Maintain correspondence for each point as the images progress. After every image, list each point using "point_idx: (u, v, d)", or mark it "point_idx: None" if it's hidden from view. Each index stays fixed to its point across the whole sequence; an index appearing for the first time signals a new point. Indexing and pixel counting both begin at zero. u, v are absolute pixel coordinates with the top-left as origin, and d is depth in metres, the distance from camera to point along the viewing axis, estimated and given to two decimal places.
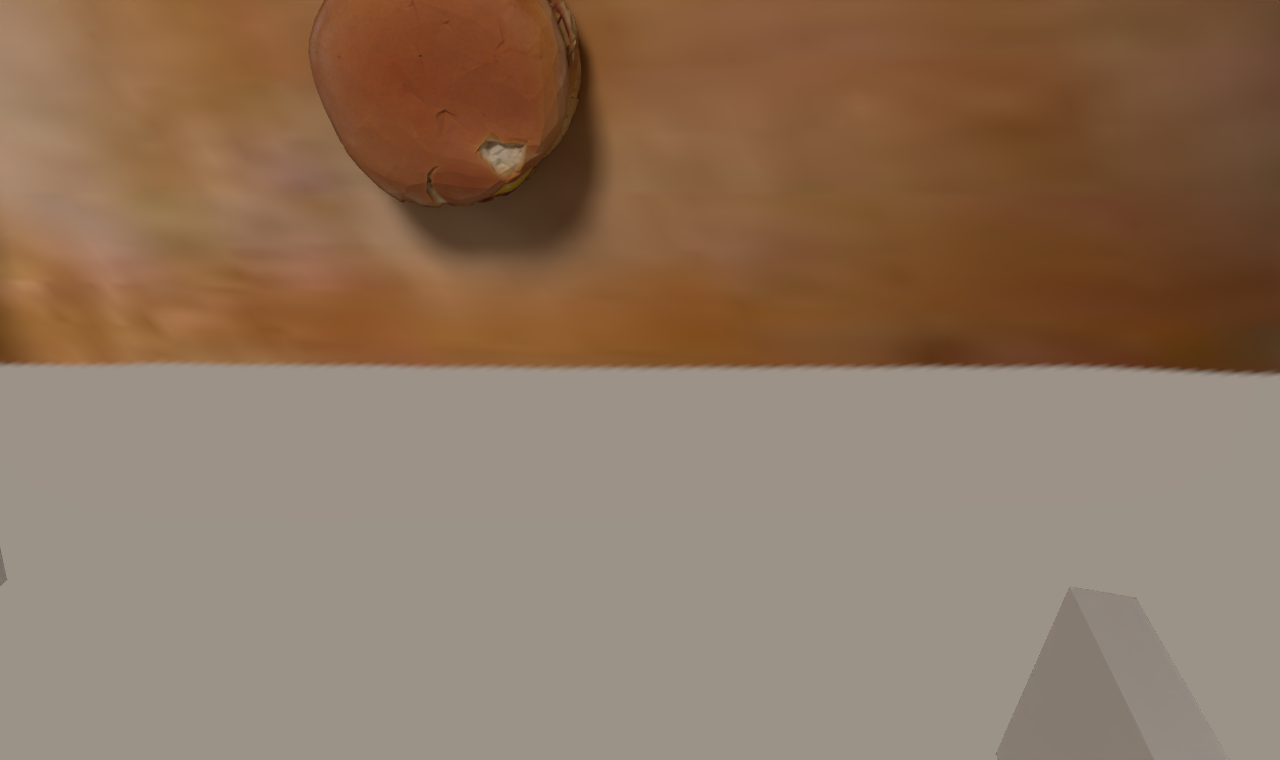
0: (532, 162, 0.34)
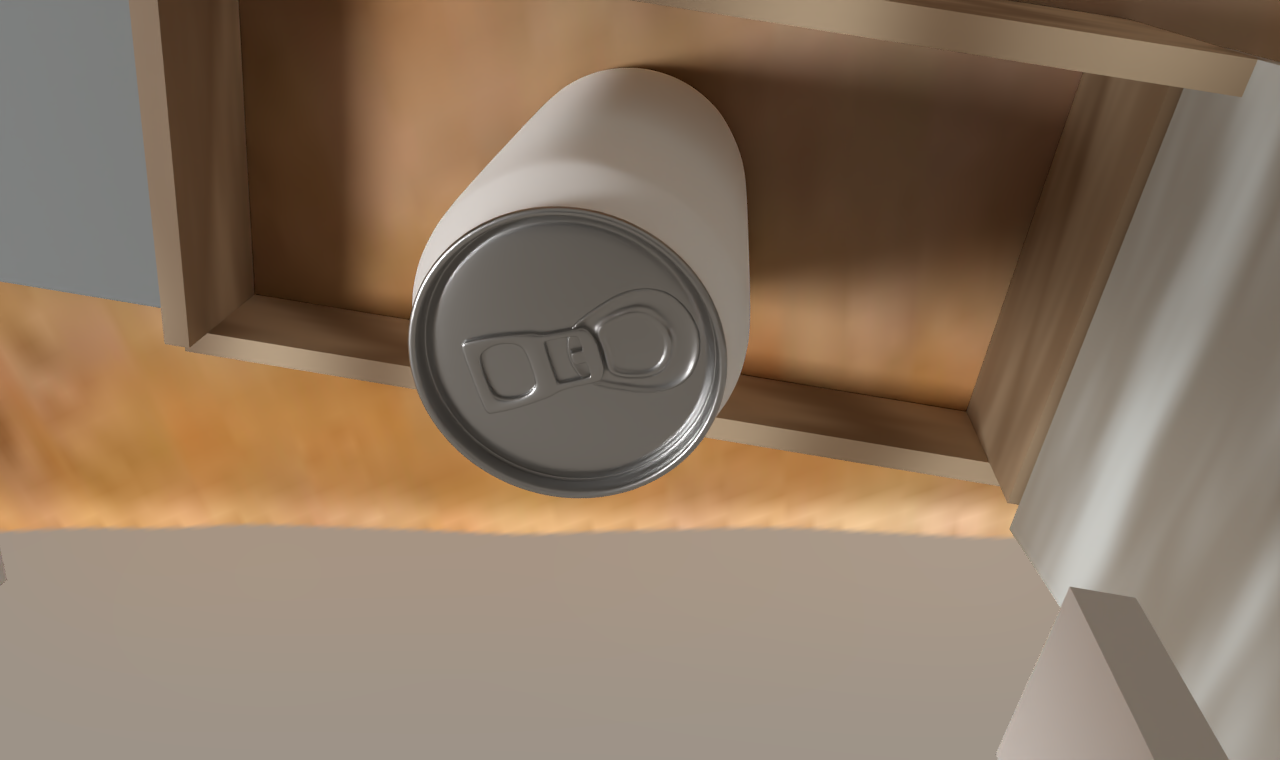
0: None
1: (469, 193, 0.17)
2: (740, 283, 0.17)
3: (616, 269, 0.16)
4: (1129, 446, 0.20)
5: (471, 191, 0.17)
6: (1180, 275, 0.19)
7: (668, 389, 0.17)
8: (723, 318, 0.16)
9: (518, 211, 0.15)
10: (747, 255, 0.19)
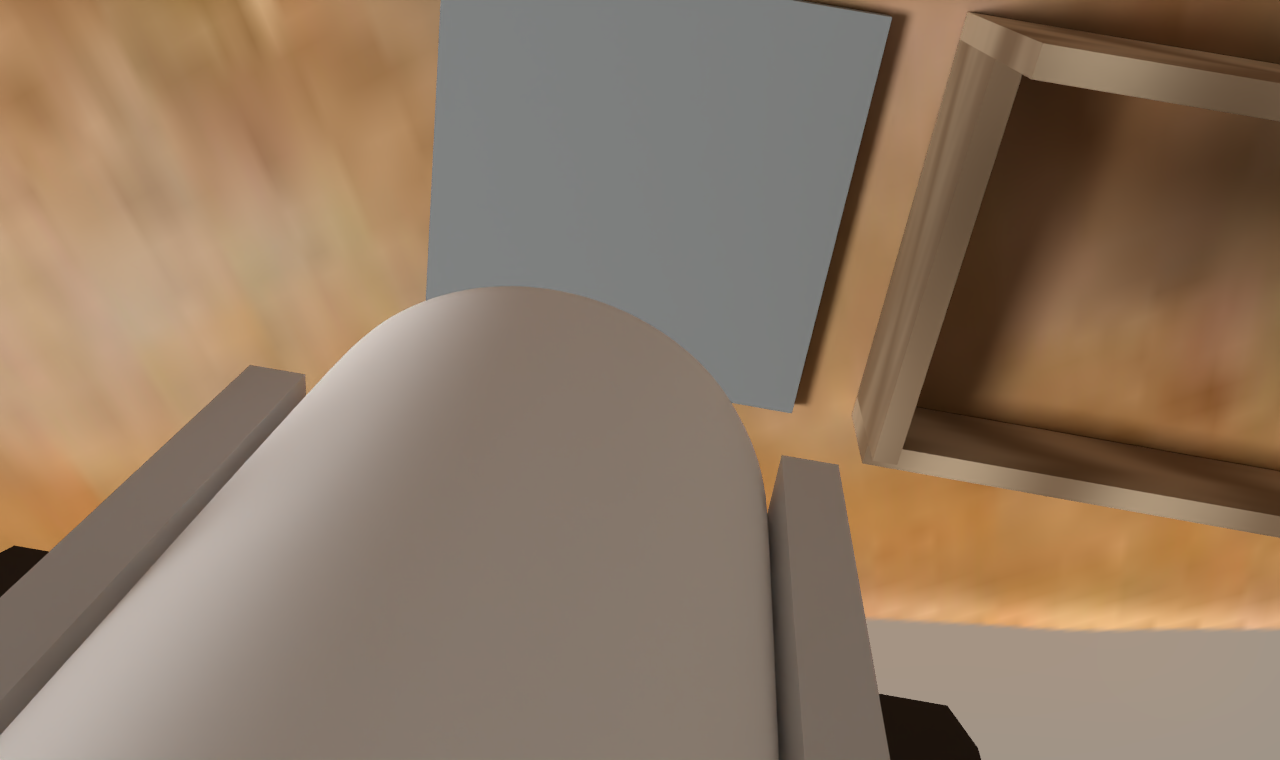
0: None
1: None
2: None
3: None
4: None
5: None
6: None
7: None
8: None
9: None
10: None
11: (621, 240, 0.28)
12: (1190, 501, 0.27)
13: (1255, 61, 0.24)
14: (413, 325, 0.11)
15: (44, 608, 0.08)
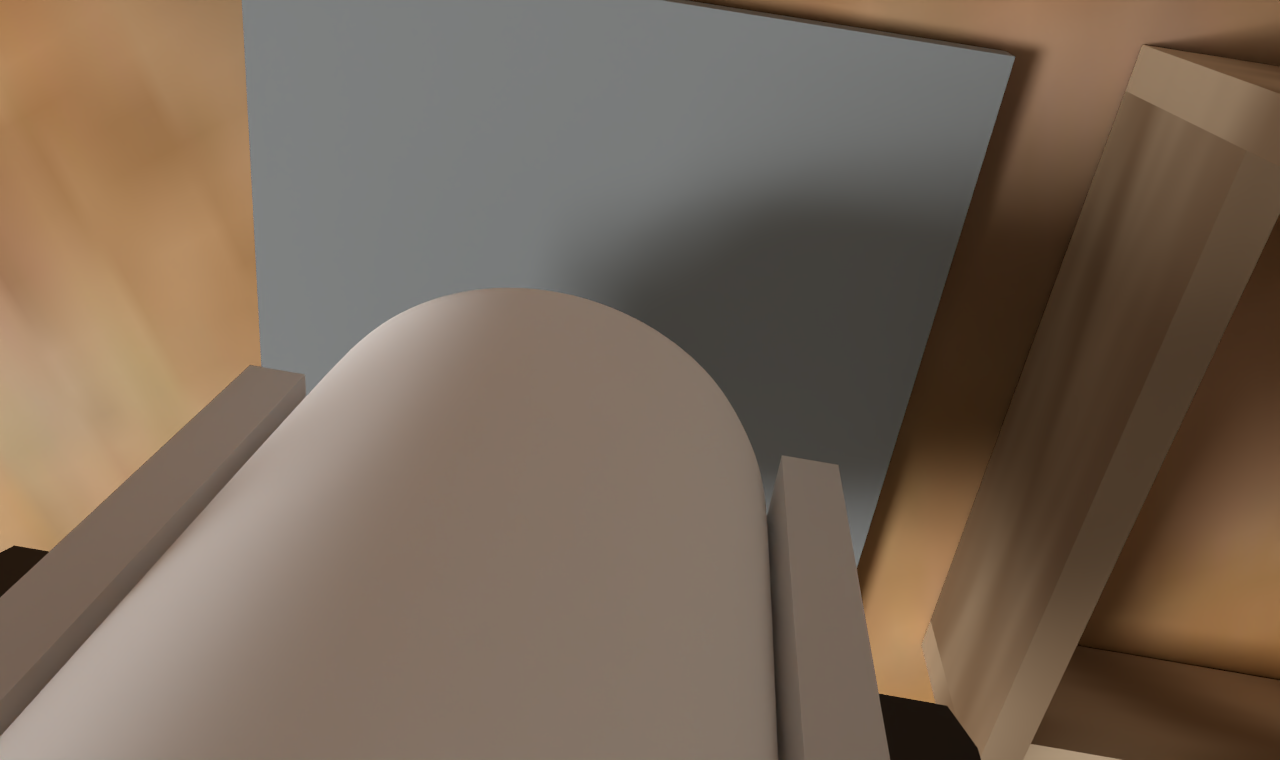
0: None
1: None
2: None
3: None
4: None
5: None
6: None
7: None
8: None
9: None
10: None
11: None
12: None
13: None
14: (412, 327, 0.11)
15: (45, 608, 0.08)
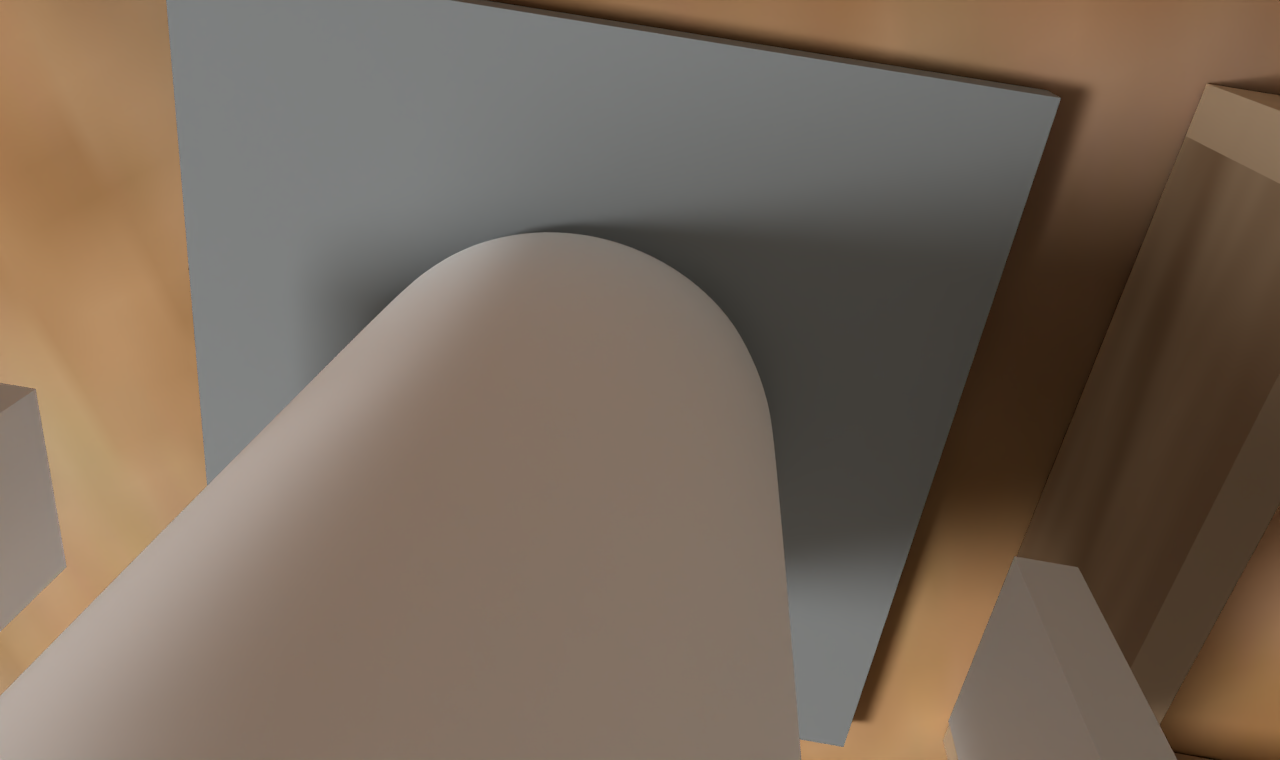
0: None
1: None
2: None
3: None
4: None
5: None
6: None
7: None
8: None
9: None
10: None
11: None
12: None
13: None
14: (470, 259, 0.13)
15: None
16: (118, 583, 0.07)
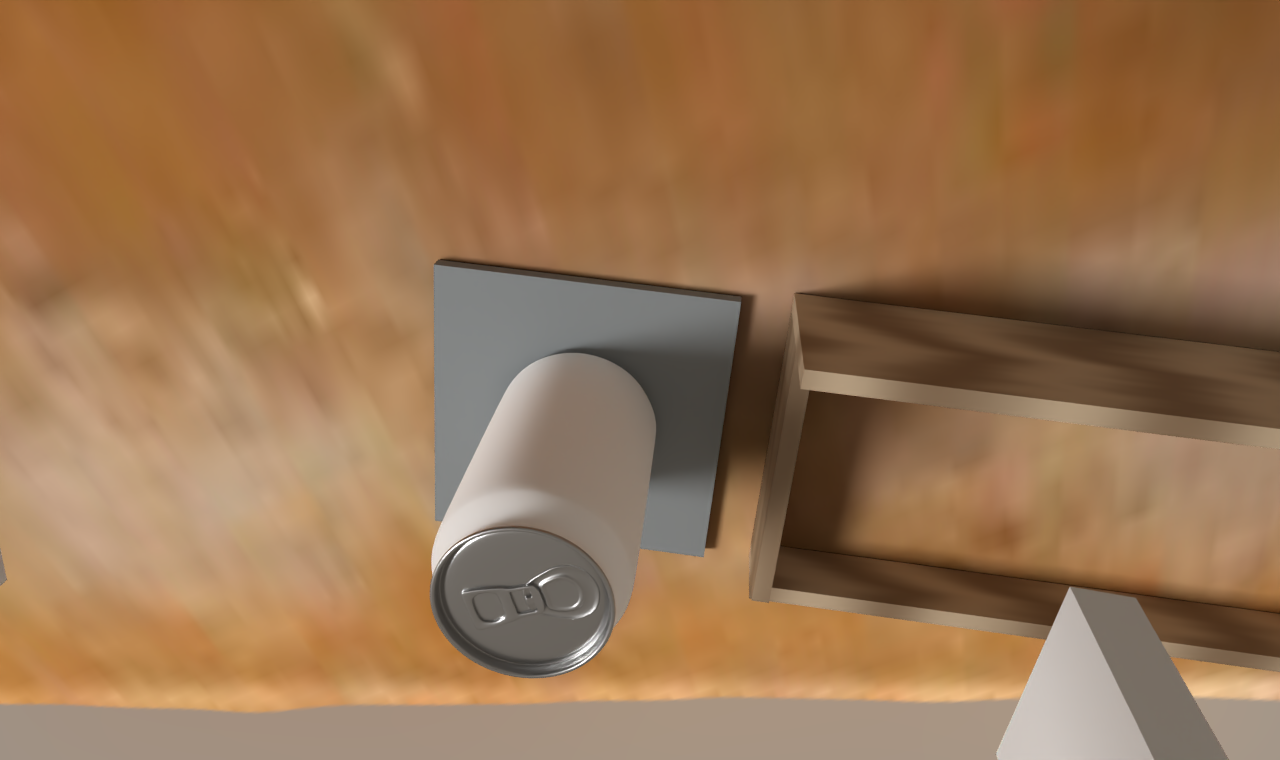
0: None
1: (465, 503, 0.29)
2: (626, 552, 0.29)
3: (549, 555, 0.28)
4: None
5: (466, 502, 0.29)
6: None
7: (583, 617, 0.28)
8: (613, 578, 0.28)
9: (493, 529, 0.27)
10: (638, 516, 0.31)
11: None
12: (984, 617, 0.38)
13: (991, 322, 0.35)
14: (544, 365, 0.36)
15: None
16: (481, 462, 0.31)
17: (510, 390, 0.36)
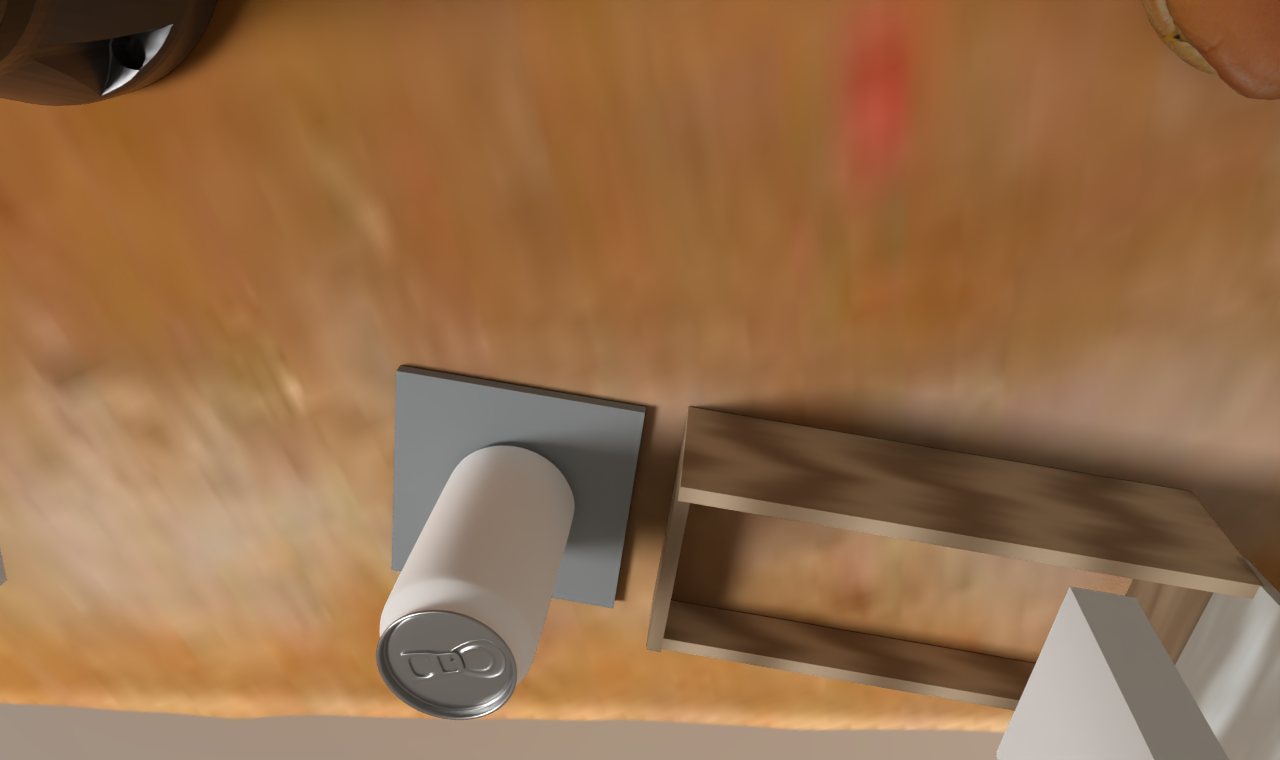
0: None
1: (407, 586, 0.37)
2: (529, 628, 0.37)
3: (468, 631, 0.36)
4: None
5: (408, 585, 0.37)
6: (1222, 670, 0.40)
7: (493, 677, 0.37)
8: (517, 649, 0.37)
9: (425, 611, 0.36)
10: (545, 594, 0.40)
11: None
12: (834, 668, 0.47)
13: (843, 438, 0.44)
14: (483, 457, 0.45)
15: None
16: (423, 547, 0.39)
17: (455, 476, 0.45)
